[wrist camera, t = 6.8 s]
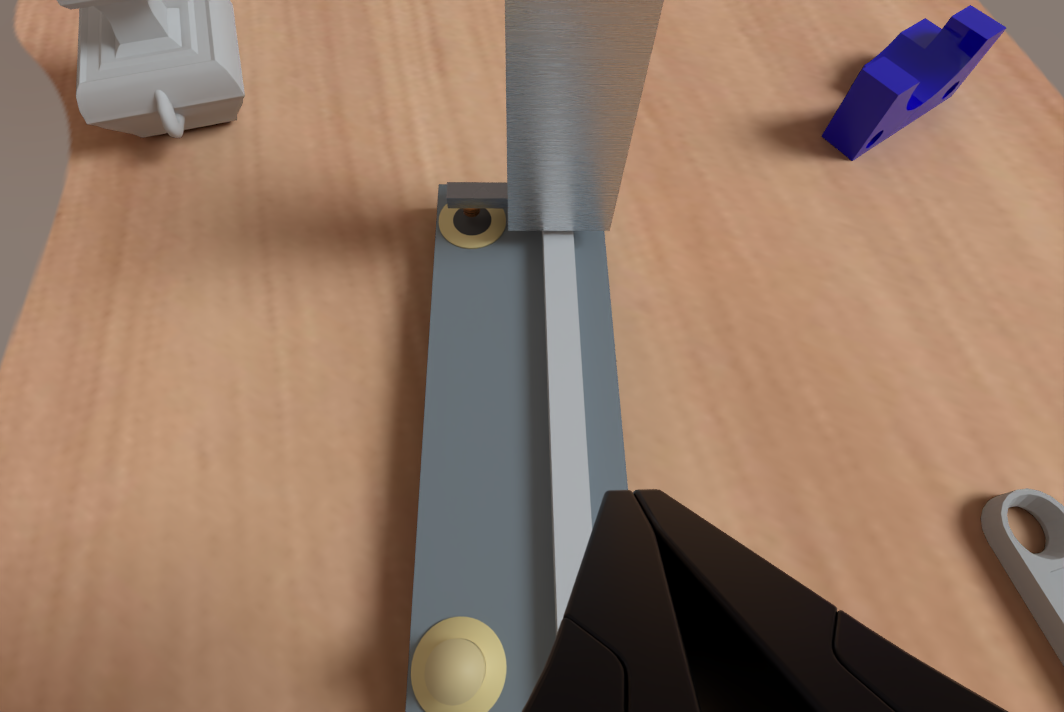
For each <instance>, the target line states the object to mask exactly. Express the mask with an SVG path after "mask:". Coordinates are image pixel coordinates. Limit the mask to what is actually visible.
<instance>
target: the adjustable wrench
mask: <svg viewBox="0 0 1064 712" xmlns="http://www.w3.org/2000/svg"><path fill="white" fill-rule="evenodd" d="M1014 506H1018V507H1021V508H1023V509H1025V510H1027V511H1028V512H1029V513H1030V514H1032V515H1033V516H1034V517H1035V518H1036V519H1037V521H1038V522H1039V523H1040V525H1041V527H1042V529H1043V531H1044V533H1045V538H1046V543H1045V549H1044V550H1043V552H1041V553H1038V554H1033V553H1031V552H1029V551H1028V550H1027V549H1026V548H1024V547H1023V546H1022V545H1021V544H1020V543H1019V541H1018V540H1017V539H1016V538H1015V536H1014V535H1013V533H1012V531H1011V529H1010V527H1009V524H1008V518H1007V512H1008V508H1009V507H1014ZM981 523H982V530H983V532H984V534H985V537H986V539H987V541H988V543H989V545H990V546H991V548H992V549H993V551H994V553H995V554H996V556H997V558H998V559H999V561H1000V563H1001V564H1002V566H1003V568H1004V569H1005V571H1006V572H1007V574H1008V576H1009V577H1010V579H1011V581H1012V582H1013V584H1014V586H1015V587H1016V589H1017V591H1018V592H1019V594H1020V595H1021V597H1022V599H1023V600H1024V602H1025V604H1026V605H1027V607H1028V609H1029V610H1030V612H1031V614H1032V615H1033V617H1034V618H1035V620H1036V622H1037V623H1038V625H1039V627H1040V628H1041V630H1042V632H1043V633H1044V635H1045V637H1046V638H1047V640H1048V641H1049V643H1050V645H1051V646H1052V648H1053V650H1054V651H1055V653H1056V655H1057V656H1058V658H1059V660H1060V661H1061V663H1062V664H1063V666H1064V506H1063V505H1062V504H1060V503H1059V502H1058V501H1056V500H1055V499H1054V498H1053V497H1051V496H1049V495H1047V494H1045V493H1043V492H1041V491H1037V490H1032V489H1020V490H1015V491H1012V492H1008V493H1005V494H1002V495H999V496H996V497H994V498H992V499H991V500H989V501H988V502H987V503H986V505H985V506H984V508H983V510H982V515H981Z"/></svg>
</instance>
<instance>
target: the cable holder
mask: <svg viewBox="0 0 1064 712" xmlns="http://www.w3.org/2000/svg"><path fill="white" fill-rule="evenodd" d="M1005 29H1006V27H1005V26H1003V25H1001V24H1000V23H998V22H997V21H995V20H993V19H992V18H990V17H989V16H987V15H985V14H984V13H982V12H981V11H979V10H977V9H976V8H974V7H973V6H971V5H970V6H968V7H967V8H965V9H963V10H962V11H960V12H958V13H956V14H955V15H953V16H952V17H951V18H950V19H949V21H948V22H947V23H946V25H945V26H944V27H943V29H941V28H939V27H938V26H936V25H935V24H933V23H932V22H930V21H929V20H927V19H926V18H925V19H923V20H921V21H920V22H918V23H916V24H915V25H913V26H911V27H909V28H908V29H906V30H904V31H902V32H901V33H900V34H899V35H898V36H897V37H896V38H895V39H894V40H893V41H892V42H891V43H890V44H889V45H888V46H887V47H886V48H885V49H884V50H883V51H882V52H881V53H880V54H879V55H878V56H876V57H875V58H874V59H873V60H871V61H870V62H868V63H867V64H865V65H864V66H863V68H862V70H861V71H860V73H859V74H858V76H857V78H856V79H855V81H854V83H853V84H852V86H851V88H850V90H849V92H848V93H847V95H846V97H845V98H844V100H843V102H842V103H841V105H840V106H839V108H838V110H837V111H836V113H835V115H834V116H833V118H832V120H831V121H830V123H829V124H828V126H827V128H826V129H825V131H824V133H823V134H822V137H823V138H824V139H825V140H827V141H828V142H829V143H830V144H831V145H833V146H834V147H835V148H836V149H838V150H839V151H840V152H841V153H843V154H844V155H845V156H846V157H848V158H849V159H850V160H851V161H853V160H855V159H856V158H858V157H859V156H861V155H862V154H864V153H865V152H867V151H868V150H870V149H871V148H873V147H874V146H876V145H877V144H879V143H881V142H882V141H884V140H885V139H887V138H888V137H890V136H891V135H893V134H894V133H896V132H897V131H899V130H900V129H902V128H904V127H905V126H907V125H908V124H910V123H911V122H913V121H914V120H916V119H917V118H919V117H920V116H922V115H923V114H925V113H926V112H928V111H930V110H931V109H933V108H934V107H936V106H937V105H939V104H940V103H942V102H943V101H945V100H946V99H948V98H949V97H951V96H952V95H953V94H954V92H955V91H956V90H957V89H958V87H959V86H960V85H961V84H962V82H963V81H964V80H965V79H966V78H967V76H968V75H969V74H970V73H971V71H972V70H973V69H974V68H975V66H976V65H977V64H978V63H979V61H980V60H981V59H982V58H983V56H984V55H985V54H986V53H987V51H988V50H989V49H990V48H991V46H992V45H993V44H994V43H995V42H996V40H997V39H998V38H999V37H1000V35H1001V34H1002V33H1003V32H1004V30H1005Z"/></svg>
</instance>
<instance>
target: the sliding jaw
mask: <svg viewBox="0 0 1064 712" xmlns="http://www.w3.org/2000/svg"><path fill="white" fill-rule="evenodd" d="M663 2H664V0H505V40H506V111H507V182H508V183H479V182H447V196H446V199H447V205H448V208H463V212H464V214H465V215H466V216H468V217H475V216H477V215H478V214H479V213H480V208H494V209H508V231H610V227H611V223H612V218H613V214H614V210H615V206H616V201H617V197H618V193H619V189H620V184H621V180H622V176H623V172H624V167H625V163H626V159H627V155H628V150H629V146H630V142H631V138H632V133H633V129H634V125H635V121H636V116H637V112H638V108H639V104H640V100H641V95H642V91H643V87H644V83H645V78H646V74H647V70H648V66H649V61H650V57H651V53H652V49H653V44H654V40H655V36H656V32H657V27H658V23H659V19H660V15H661V10H662V6H663Z"/></svg>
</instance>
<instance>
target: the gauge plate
mask: <svg viewBox="0 0 1064 712" xmlns="http://www.w3.org/2000/svg"><path fill="white" fill-rule="evenodd" d="M446 196H447V184H439V189H438V205H437V221H436V236H435V252H434V268H433V284H432V299H431V315H430V331H429V347H428V363H427V378H426V394H425V410H424V426H423V442H422V457H421V473H420V489H419V505H418V520H417V536H416V552H415V568H414V584H413V599H412V615H411V631H410V647H409V662H408V678H407V694H406V710H405V712H522V710H523V708H524V706H525V705H526V703H527V701H528V699H529V697H530V695H531V693H532V691H533V689H534V687H535V685H536V683H537V681H538V679H539V677H540V675H541V673H542V671H543V669H544V666H545V664H546V661H547V659H548V656H549V654H550V651H551V648H552V646H553V643H554V641H555V638H556V635H557V632H558V629H559V626H560V623H561V621H562V619H563V616H564V613H565V610H566V607H567V604H568V601H569V598H570V595H571V592H572V589H573V586H574V583H575V580H576V577H577V574H578V571H579V568H580V565H581V562H582V559H583V556H584V553H585V550H586V547H587V544H588V541H589V538H590V535H591V532H592V529H593V526H594V523H595V520H596V517H597V514H598V511H599V508H600V505H601V502H602V499H603V496H604V493H605V492H606V491H608V490H628V485H627V474H626V464H625V453H624V442H623V431H622V420H621V409H620V398H619V387H618V377H617V366H616V355H615V344H614V333H613V322H612V311H611V300H610V289H609V279H608V268H607V257H606V246H605V235H604V231H508V209H494V208H480V213H479V214H478V215H477V216H475V217H468V216H466V215H465V214H464V212H463V208H448V205H447V199H446Z"/></svg>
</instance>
